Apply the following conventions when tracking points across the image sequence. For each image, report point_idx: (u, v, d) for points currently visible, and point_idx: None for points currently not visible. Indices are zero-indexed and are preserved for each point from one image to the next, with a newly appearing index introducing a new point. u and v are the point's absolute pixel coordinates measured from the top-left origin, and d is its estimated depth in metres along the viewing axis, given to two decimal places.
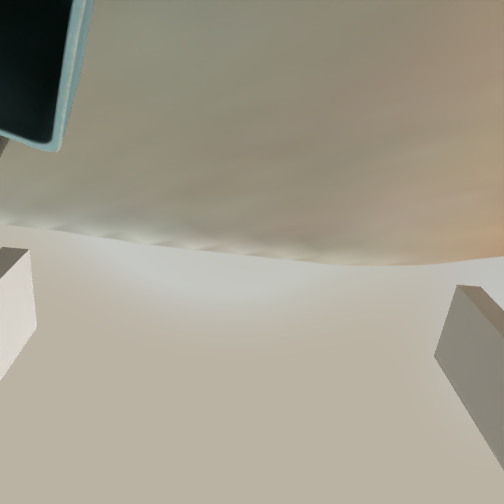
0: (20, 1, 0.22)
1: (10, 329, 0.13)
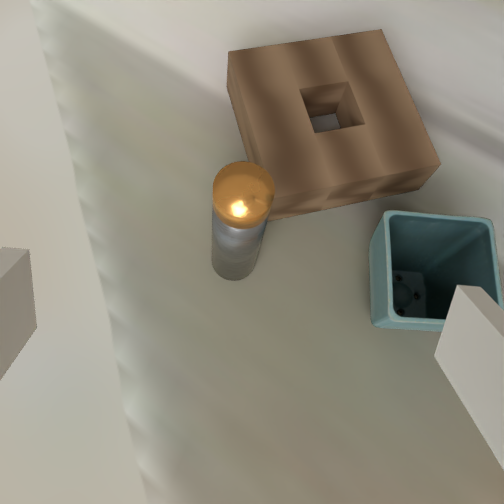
0: None
1: (10, 329, 0.13)
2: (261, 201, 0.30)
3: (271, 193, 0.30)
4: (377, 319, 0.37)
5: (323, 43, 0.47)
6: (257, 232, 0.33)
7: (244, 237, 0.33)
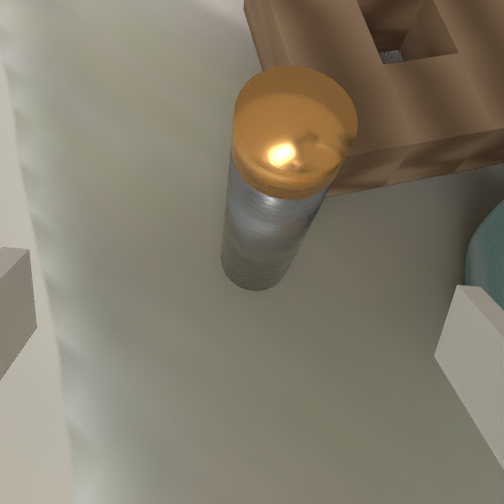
0: None
1: (10, 329, 0.13)
2: (332, 141, 0.15)
3: (351, 127, 0.15)
4: None
5: None
6: (312, 208, 0.18)
7: (289, 217, 0.18)
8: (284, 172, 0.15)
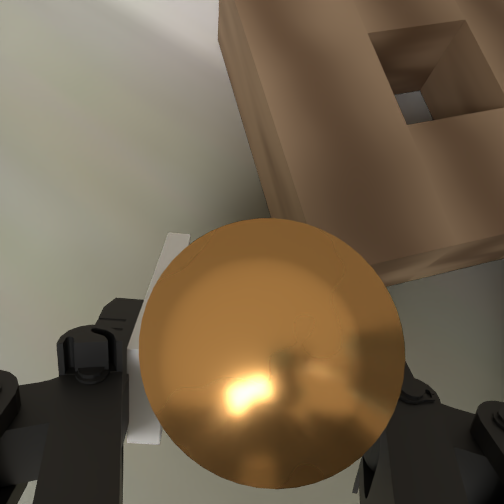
0: None
1: None
2: (352, 401, 0.07)
3: (392, 362, 0.07)
4: None
5: None
6: None
7: None
8: None
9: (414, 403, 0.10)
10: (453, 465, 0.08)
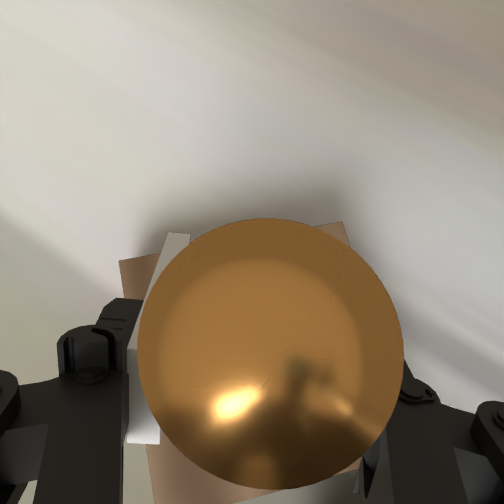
0: None
1: None
2: (351, 402, 0.07)
3: (391, 362, 0.07)
4: None
5: None
6: None
7: None
8: None
9: (414, 403, 0.10)
10: (453, 465, 0.08)
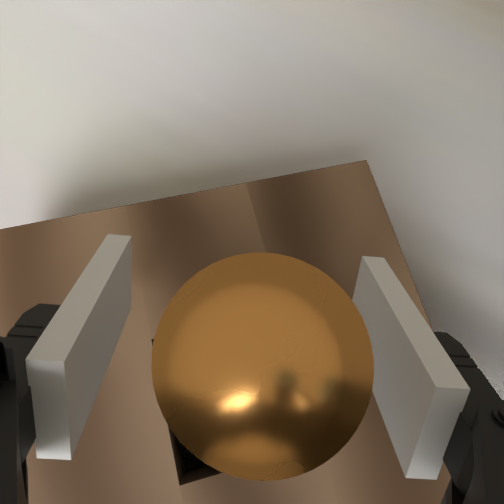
0: None
1: (120, 306, 0.14)
2: (328, 408, 0.08)
3: (363, 374, 0.08)
4: None
5: (225, 203, 0.19)
6: None
7: None
8: None
9: None
10: None
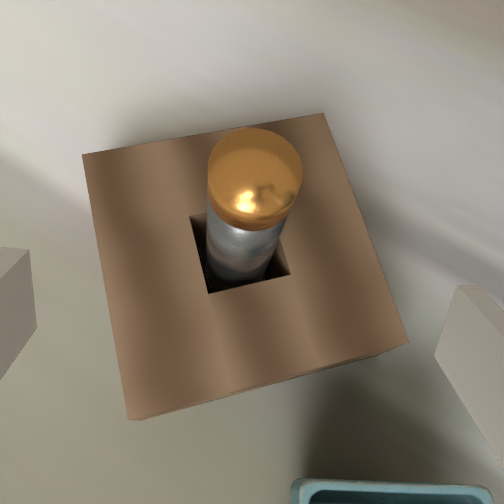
0: None
1: (10, 329, 0.13)
2: (283, 188, 0.20)
3: (298, 176, 0.20)
4: None
5: None
6: (273, 235, 0.22)
7: (255, 243, 0.22)
8: (246, 213, 0.19)
9: None
10: None
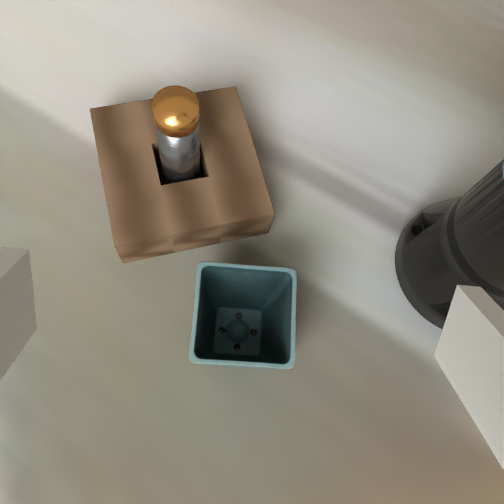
0: (207, 331, 0.46)
1: (10, 329, 0.13)
2: (188, 113, 0.40)
3: (196, 108, 0.40)
4: None
5: None
6: (189, 143, 0.43)
7: (180, 147, 0.43)
8: (169, 125, 0.40)
9: None
10: None
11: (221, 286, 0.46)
